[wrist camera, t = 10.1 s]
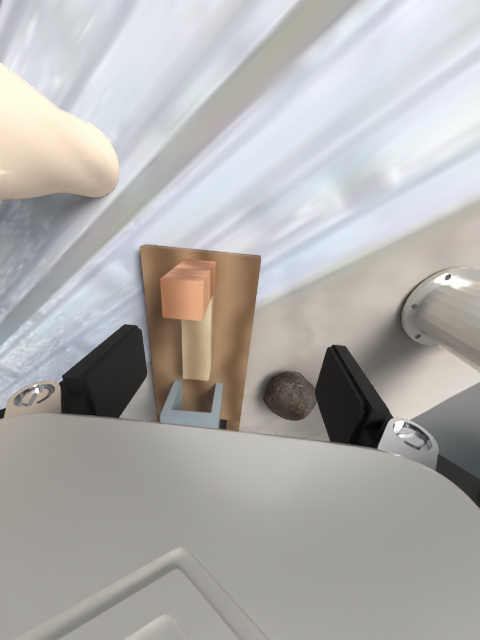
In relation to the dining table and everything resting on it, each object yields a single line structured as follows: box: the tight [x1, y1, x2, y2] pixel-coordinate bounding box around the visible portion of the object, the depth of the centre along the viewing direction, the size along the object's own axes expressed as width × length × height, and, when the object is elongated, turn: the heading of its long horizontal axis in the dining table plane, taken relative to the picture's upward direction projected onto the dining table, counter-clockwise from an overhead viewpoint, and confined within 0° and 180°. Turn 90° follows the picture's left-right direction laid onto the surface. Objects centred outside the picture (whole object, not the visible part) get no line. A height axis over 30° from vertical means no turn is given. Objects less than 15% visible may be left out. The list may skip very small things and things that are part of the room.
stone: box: [263, 372, 317, 421], centre depth 40 cm, size 10×8×10 cm
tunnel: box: [160, 379, 223, 429], centre depth 37 cm, size 8×6×8 cm
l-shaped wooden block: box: [160, 259, 216, 381], centre depth 29 cm, size 4×18×10 cm, turn 175°
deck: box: [140, 245, 261, 431], centre depth 39 cm, size 16×39×2 cm, turn 175°
